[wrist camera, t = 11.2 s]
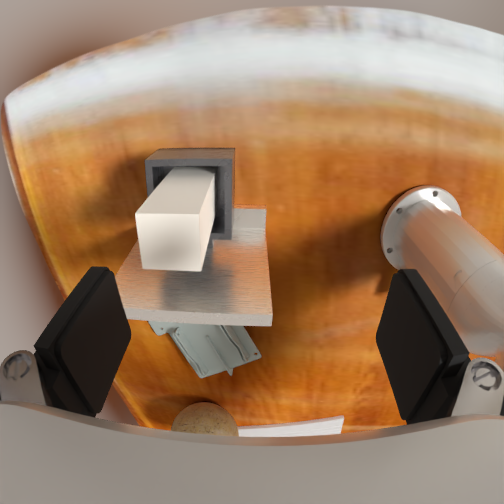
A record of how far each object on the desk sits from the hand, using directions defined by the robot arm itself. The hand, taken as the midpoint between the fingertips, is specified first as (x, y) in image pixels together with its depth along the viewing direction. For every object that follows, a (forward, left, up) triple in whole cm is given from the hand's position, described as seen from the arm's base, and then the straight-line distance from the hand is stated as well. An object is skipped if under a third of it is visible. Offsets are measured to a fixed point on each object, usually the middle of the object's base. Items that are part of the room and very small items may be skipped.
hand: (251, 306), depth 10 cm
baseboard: (-62, -7, -27) cm, 68 cm away
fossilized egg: (-49, +7, -26) cm, 56 cm away
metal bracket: (-27, +5, -27) cm, 38 cm away
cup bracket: (-6, +5, -26) cm, 27 cm away
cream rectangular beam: (-3, +5, -20) cm, 21 cm away
